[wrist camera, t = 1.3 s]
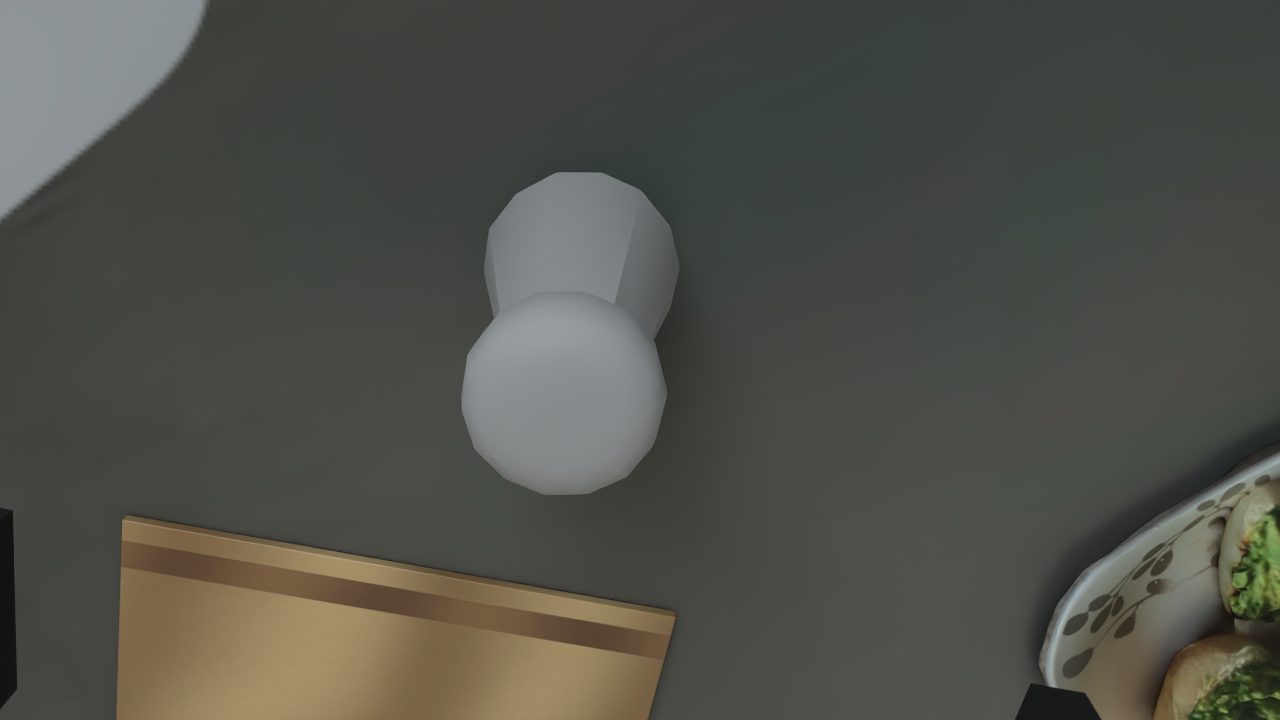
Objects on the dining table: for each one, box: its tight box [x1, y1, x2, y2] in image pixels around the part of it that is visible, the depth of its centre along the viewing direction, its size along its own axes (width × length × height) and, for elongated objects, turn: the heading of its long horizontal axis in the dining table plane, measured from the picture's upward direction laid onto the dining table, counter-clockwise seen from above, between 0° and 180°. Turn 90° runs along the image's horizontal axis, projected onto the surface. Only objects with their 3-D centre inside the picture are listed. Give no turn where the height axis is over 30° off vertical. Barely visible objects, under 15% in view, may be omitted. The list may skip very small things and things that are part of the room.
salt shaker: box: [461, 172, 680, 495], centre depth 26 cm, size 6×6×13 cm
